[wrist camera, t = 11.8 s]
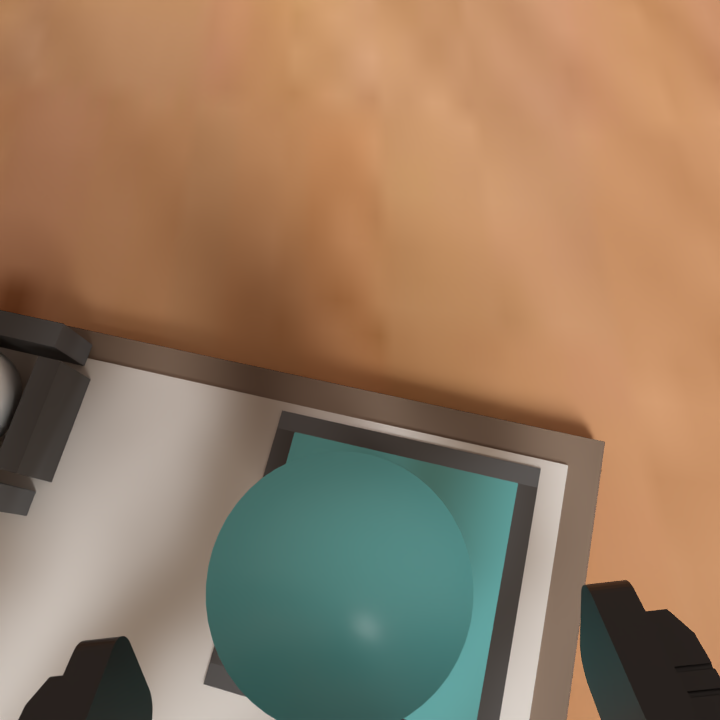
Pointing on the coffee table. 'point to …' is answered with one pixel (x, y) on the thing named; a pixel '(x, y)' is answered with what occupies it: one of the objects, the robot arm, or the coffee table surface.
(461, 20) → the coffee table surface
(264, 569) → the ball
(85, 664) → the robot arm
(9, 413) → the button
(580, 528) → the board
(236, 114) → the coffee table surface
